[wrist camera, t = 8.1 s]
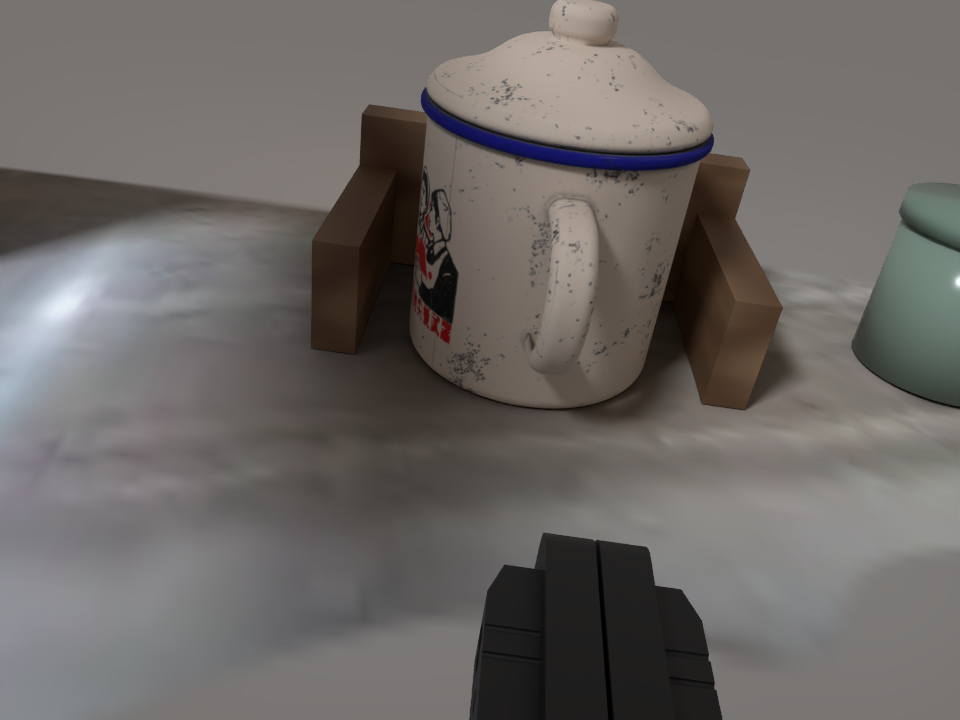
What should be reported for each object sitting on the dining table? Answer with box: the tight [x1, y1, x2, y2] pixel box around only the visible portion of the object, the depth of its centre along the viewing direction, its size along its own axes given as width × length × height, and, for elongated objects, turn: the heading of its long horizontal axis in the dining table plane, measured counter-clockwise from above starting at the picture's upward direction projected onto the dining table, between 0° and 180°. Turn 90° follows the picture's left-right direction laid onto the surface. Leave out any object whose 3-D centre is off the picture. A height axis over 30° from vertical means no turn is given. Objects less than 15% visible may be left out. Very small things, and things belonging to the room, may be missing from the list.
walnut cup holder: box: [311, 105, 783, 410], centre depth 29 cm, size 15×9×6 cm, turn 86°
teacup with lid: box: [409, 0, 714, 408], centre depth 25 cm, size 12×9×12 cm
